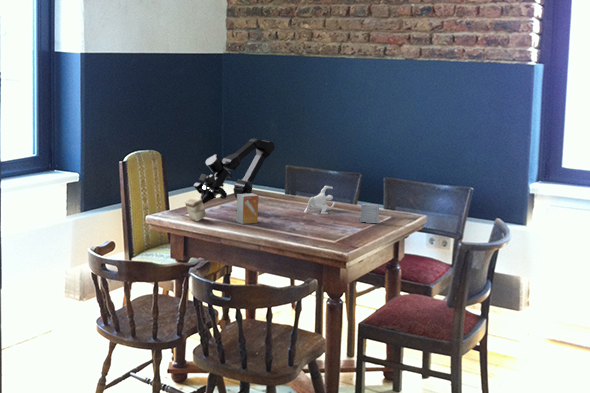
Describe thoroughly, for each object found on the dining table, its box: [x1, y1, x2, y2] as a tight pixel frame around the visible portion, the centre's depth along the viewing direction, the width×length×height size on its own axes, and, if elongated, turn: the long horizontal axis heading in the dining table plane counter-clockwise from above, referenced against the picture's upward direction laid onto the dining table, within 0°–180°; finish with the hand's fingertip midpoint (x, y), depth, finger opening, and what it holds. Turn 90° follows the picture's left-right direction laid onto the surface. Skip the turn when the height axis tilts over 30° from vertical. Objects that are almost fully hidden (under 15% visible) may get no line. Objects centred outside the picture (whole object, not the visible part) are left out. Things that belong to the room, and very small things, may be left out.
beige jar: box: [184, 196, 207, 222], centre depth 303 cm, size 6×6×9 cm
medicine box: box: [359, 203, 380, 224], centre depth 312 cm, size 8×4×9 cm, turn 71°
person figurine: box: [303, 185, 336, 216], centre depth 334 cm, size 13×13×18 cm
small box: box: [235, 192, 259, 225], centre depth 303 cm, size 8×6×13 cm
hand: (199, 204), depth 305 cm, fingers closed
